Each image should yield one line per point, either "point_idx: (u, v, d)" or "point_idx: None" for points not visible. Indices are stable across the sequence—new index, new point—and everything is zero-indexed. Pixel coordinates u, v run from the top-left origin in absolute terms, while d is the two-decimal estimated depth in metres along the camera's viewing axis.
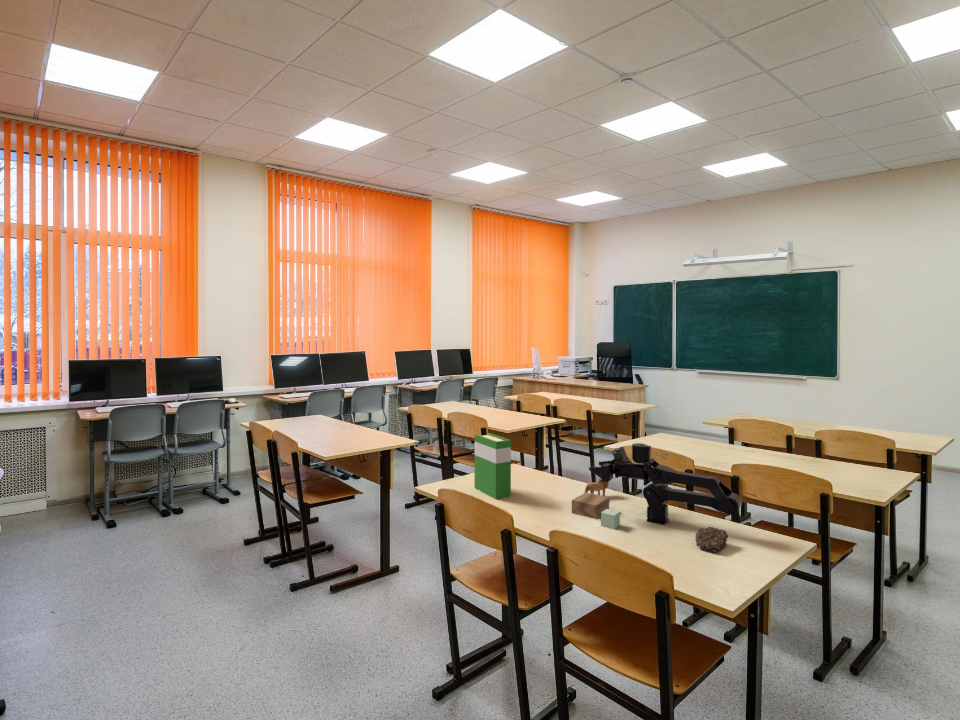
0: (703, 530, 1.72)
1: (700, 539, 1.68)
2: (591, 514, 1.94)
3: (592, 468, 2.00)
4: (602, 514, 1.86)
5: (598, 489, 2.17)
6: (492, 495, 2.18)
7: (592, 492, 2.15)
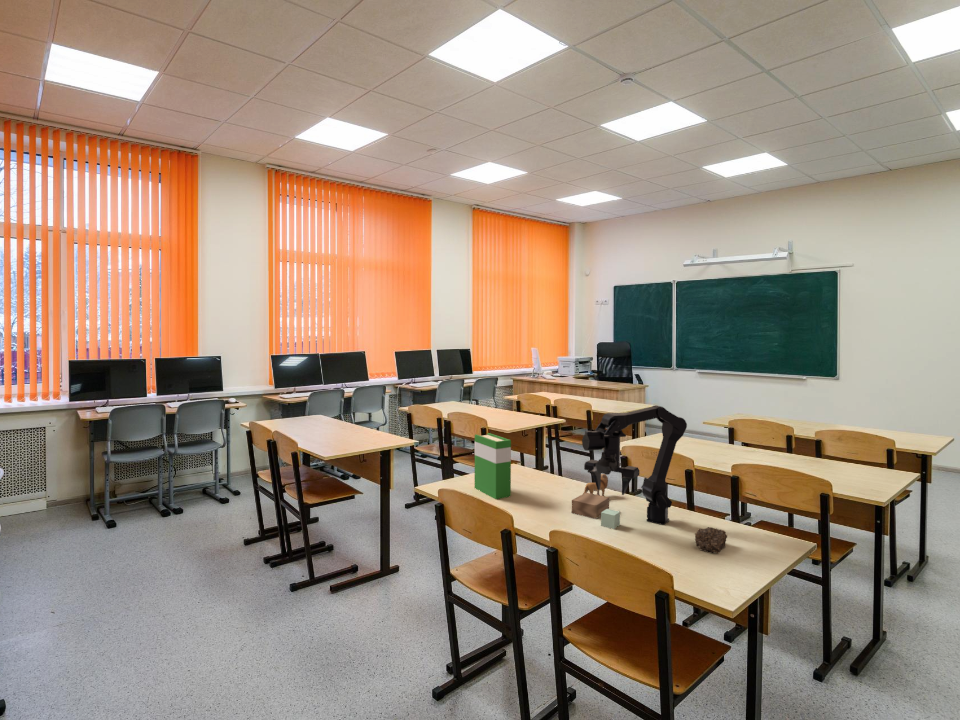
0: (702, 530, 1.72)
1: (700, 539, 1.67)
2: (591, 514, 1.94)
3: (624, 490, 1.83)
4: (602, 514, 1.86)
5: (597, 489, 2.17)
6: (492, 495, 2.18)
7: (591, 492, 2.15)
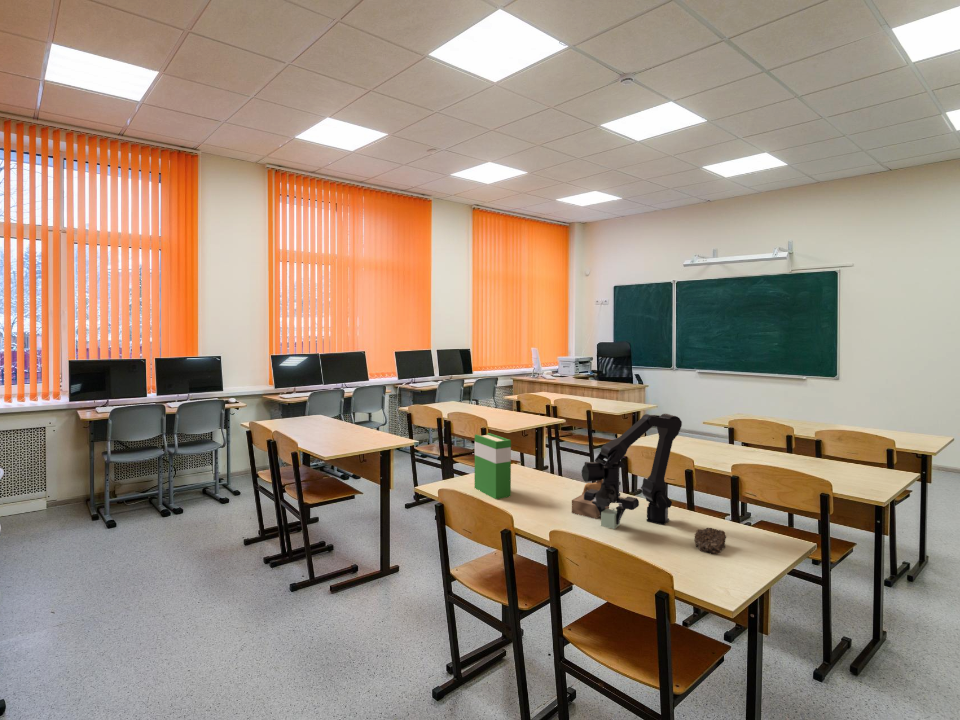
0: (702, 531, 1.72)
1: (699, 540, 1.67)
2: (591, 514, 1.94)
3: (618, 520, 1.84)
4: (602, 514, 1.86)
5: (596, 489, 2.17)
6: (492, 495, 2.18)
7: None
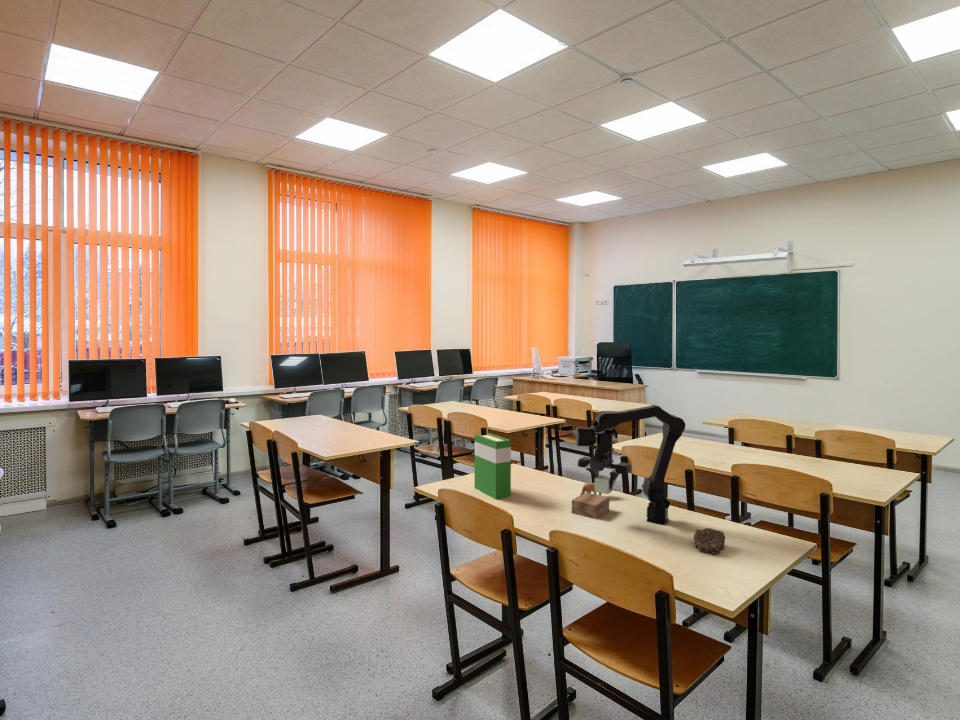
0: (701, 531, 1.71)
1: (699, 541, 1.66)
2: (591, 514, 1.94)
3: (612, 485, 1.88)
4: (596, 480, 1.90)
5: None
6: (492, 495, 2.18)
7: None
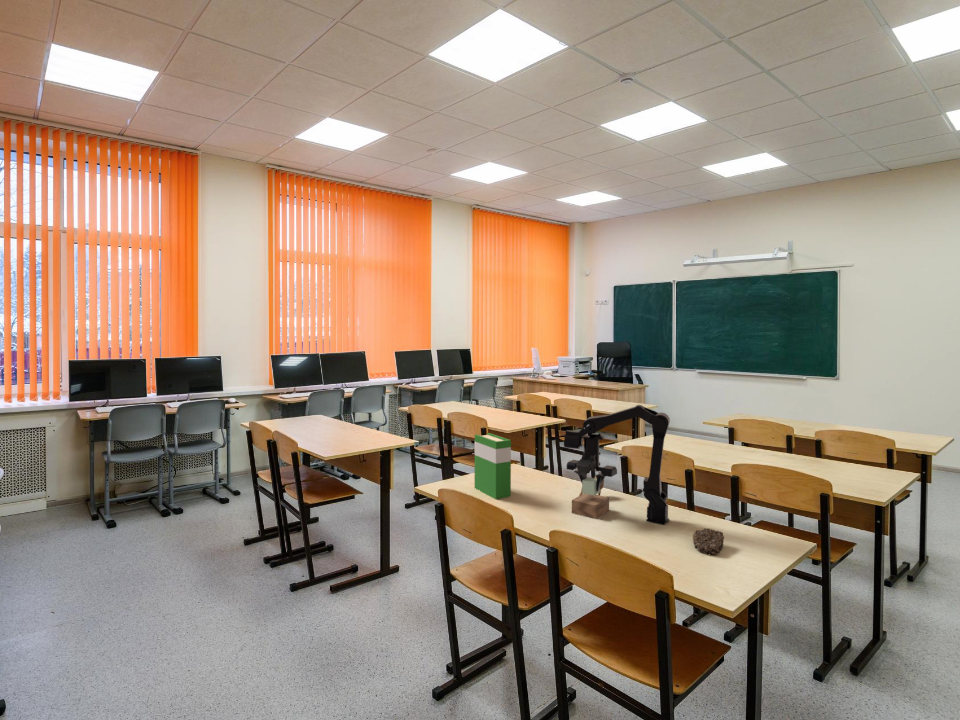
0: (700, 532, 1.71)
1: (698, 541, 1.66)
2: (591, 514, 1.94)
3: (598, 487, 1.98)
4: (583, 482, 2.00)
5: None
6: (492, 495, 2.18)
7: None
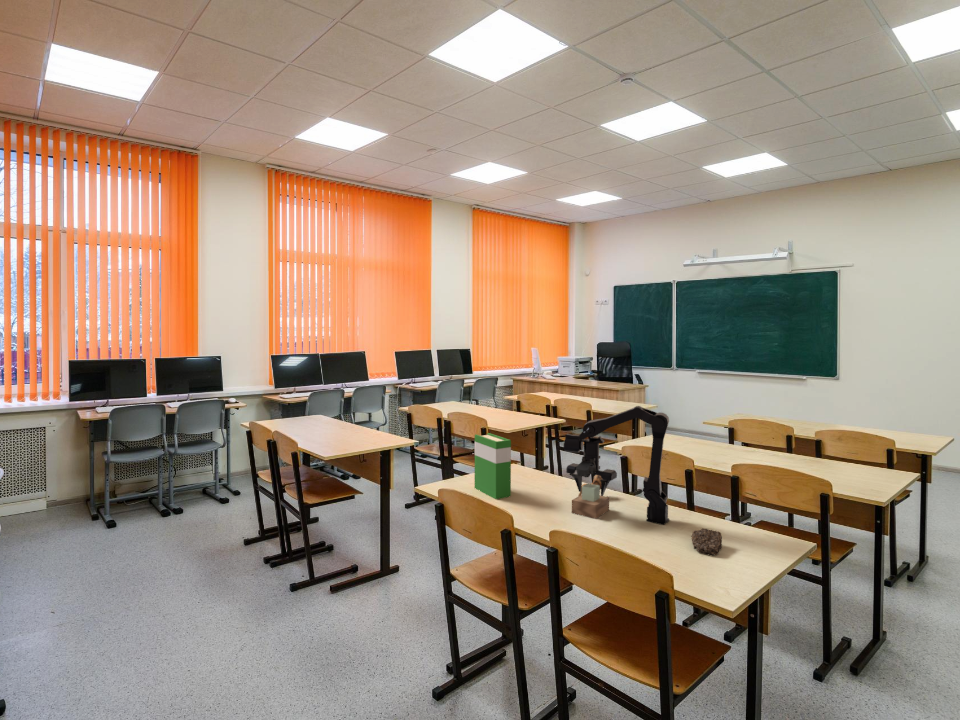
0: (698, 532, 1.71)
1: (697, 542, 1.66)
2: (591, 514, 1.94)
3: (603, 492, 1.97)
4: (583, 488, 2.00)
5: None
6: (492, 495, 2.18)
7: None
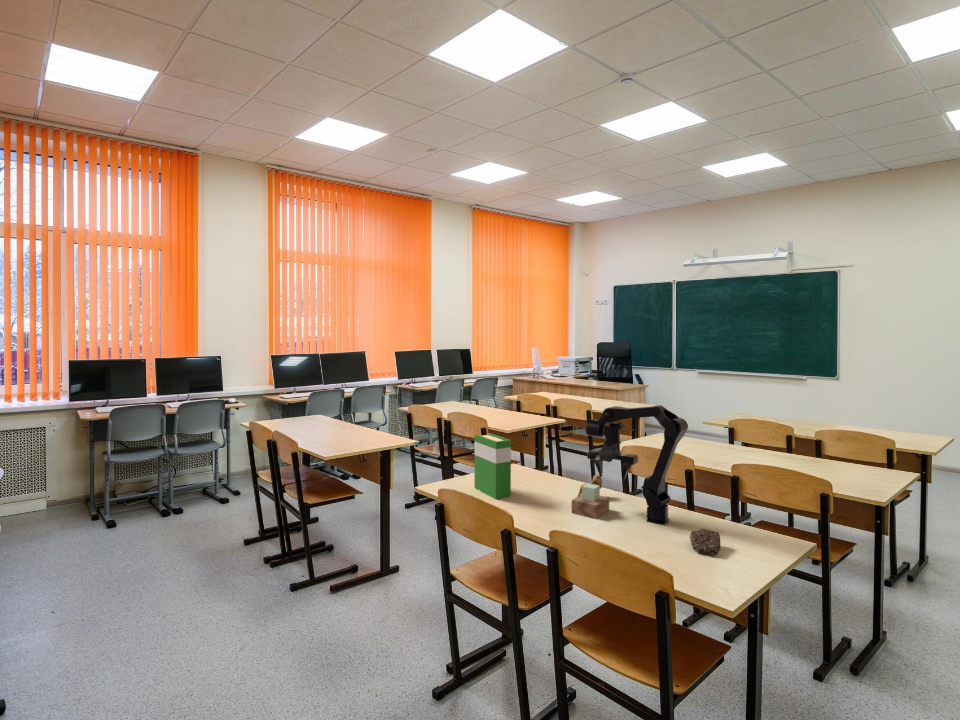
0: (696, 532, 1.70)
1: (696, 542, 1.65)
2: (591, 514, 1.94)
3: (625, 476, 2.00)
4: (583, 488, 2.00)
5: None
6: (492, 495, 2.18)
7: None
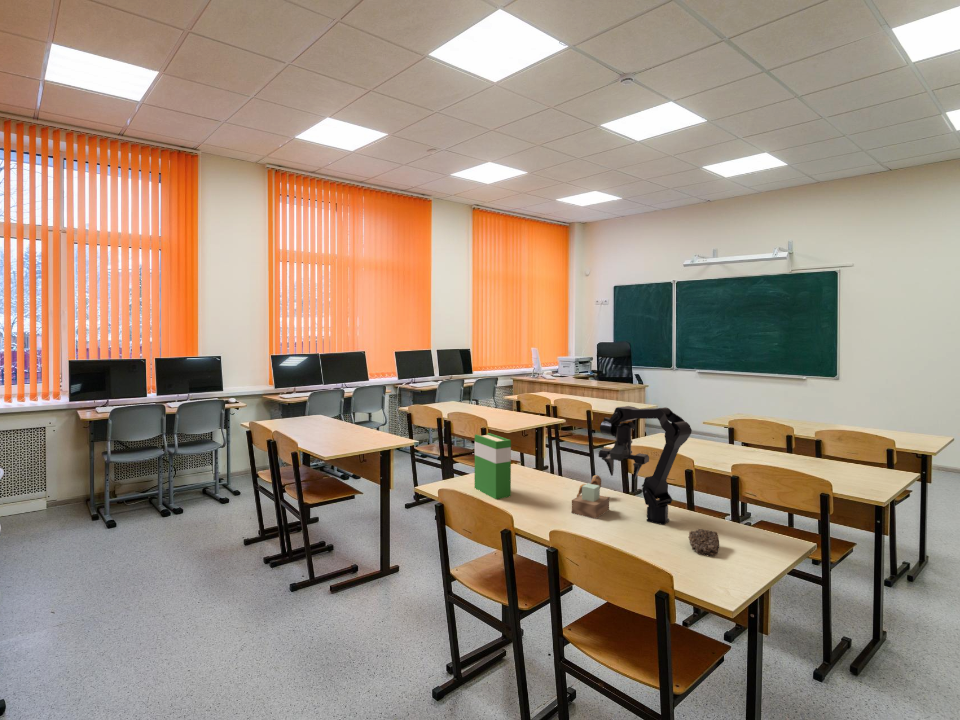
0: (694, 533, 1.70)
1: (695, 543, 1.65)
2: (591, 514, 1.94)
3: (635, 475, 2.02)
4: (583, 488, 2.00)
5: None
6: (492, 495, 2.18)
7: None
